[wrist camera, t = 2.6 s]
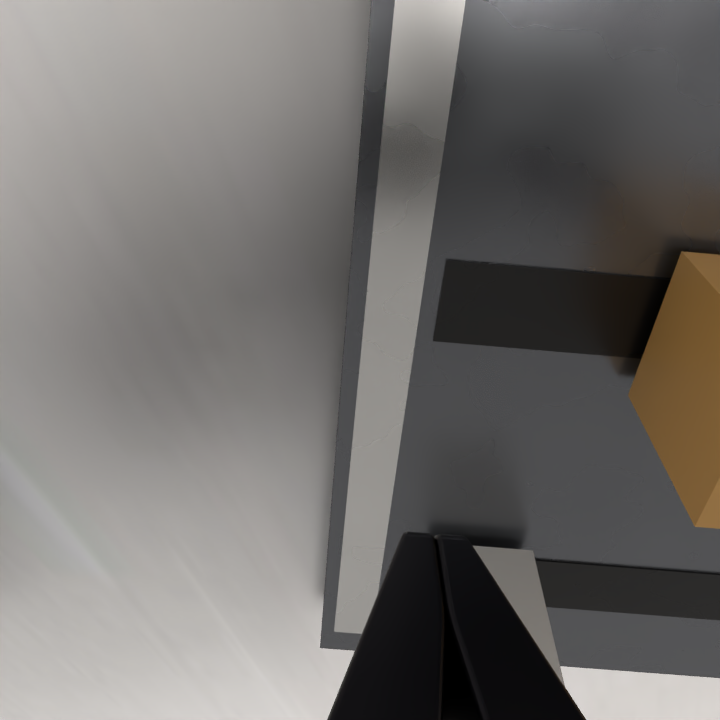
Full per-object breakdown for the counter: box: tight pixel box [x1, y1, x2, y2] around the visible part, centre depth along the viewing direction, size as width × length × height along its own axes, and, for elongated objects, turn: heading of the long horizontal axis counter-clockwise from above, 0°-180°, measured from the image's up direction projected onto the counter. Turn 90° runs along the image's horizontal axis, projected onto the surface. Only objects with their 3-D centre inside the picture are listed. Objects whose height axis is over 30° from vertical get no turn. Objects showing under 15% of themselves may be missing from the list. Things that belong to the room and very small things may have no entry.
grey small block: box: [473, 546, 565, 687], centre depth 18 cm, size 4×3×4 cm
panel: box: [320, 0, 720, 678], centre depth 16 cm, size 26×16×2 cm, turn 175°
